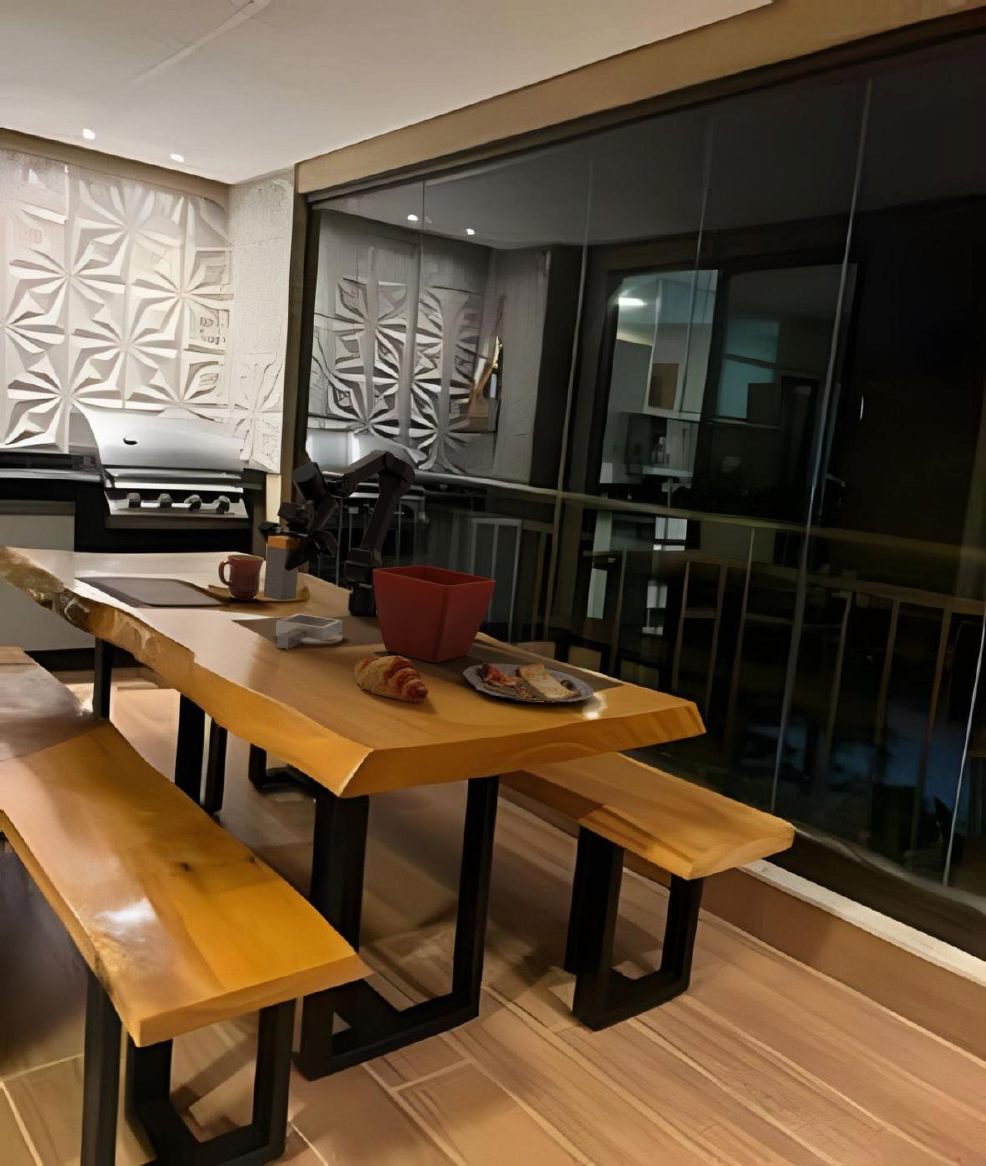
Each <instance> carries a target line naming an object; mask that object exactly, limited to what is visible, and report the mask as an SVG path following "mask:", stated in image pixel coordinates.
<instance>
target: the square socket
mask: <svg viewBox="0 0 986 1166" xmlns="http://www.w3.org/2000/svg"><path fill="white" fill-rule="evenodd" d="M343 622H344V620H342V619H336V618H329V617H323V616H318V615H317V616H315V615H311V614H303V613H299V612H298V613H294V614H292V615H289V616H286V617H283V618H281V619H278V620H276V625H275V627H276V628H275V637H276V648H278V649H282V648H285V649H284V650H289V649H288V648H290V649H292V648H294V647H297V646H299V645H302V643H303V645H334V644H339V643H341V642H342V641H343V638H344V636H343V635H344V634H343V633H342V632H343V626H344V625H343V624H344V623H343ZM298 644H299V645H298Z"/></svg>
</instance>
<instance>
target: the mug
mask: <svg viewBox="0 0 986 1166" xmlns="http://www.w3.org/2000/svg"><path fill="white" fill-rule="evenodd" d="M264 561H265V558H263V557H261V556H258V555H250V554H230V555H227V560H222V561H221V562H220V563H219V565H218V570H217V571H218V578H219V580H220V582H221V583H222V584H223V585H225V586H227V589H229V590H230V592H231V594H232V595H233V596H234V597H235V598H237V599H241V600H240V601H250V602H251V601H252V600H251V599H253V598H254V596H256V595H257V593H258V592H260V581H261V580H260V579H261V569H262V566H263V564H264ZM227 565H229V575H228V581H227V580H226V577H225V567H226V566H227Z"/></svg>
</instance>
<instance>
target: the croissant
mask: <svg viewBox="0 0 986 1166" xmlns="http://www.w3.org/2000/svg"><path fill="white" fill-rule="evenodd" d="M353 669H354V678H355V680H356V681H357V683H358V685H360V688H361V689H362V690H365V689H366V690H365V691H367V690H369V691H368V692H370V691H371V692H372V694H373V693H375V694H374V695H376V694H378V695H377V696H380V695H382V696H383V697H388V698H393V699H395V698H396V699H395V700H399V701H405V702H411V703H412V702H418V701H420V700H425V699H426V698H427V696H428V694H429V693H428V692H429V689H428V688H427V687H426V685H425V684H424V682H423V681H422V676H421V675H420V672H419V670H417V669H416V665H414V663H413V662H412V661H411V660H410V659H407V658H404V657H403V656H402V655H390V656H389V655H388V656H387V655H386V656H383V657H379V656H371V657H367V658H365V659H362V660H360V661H358V662H357V663H356V664H355V666H354V668H353ZM371 692H370V693H371ZM382 696H381V697H382Z"/></svg>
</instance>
